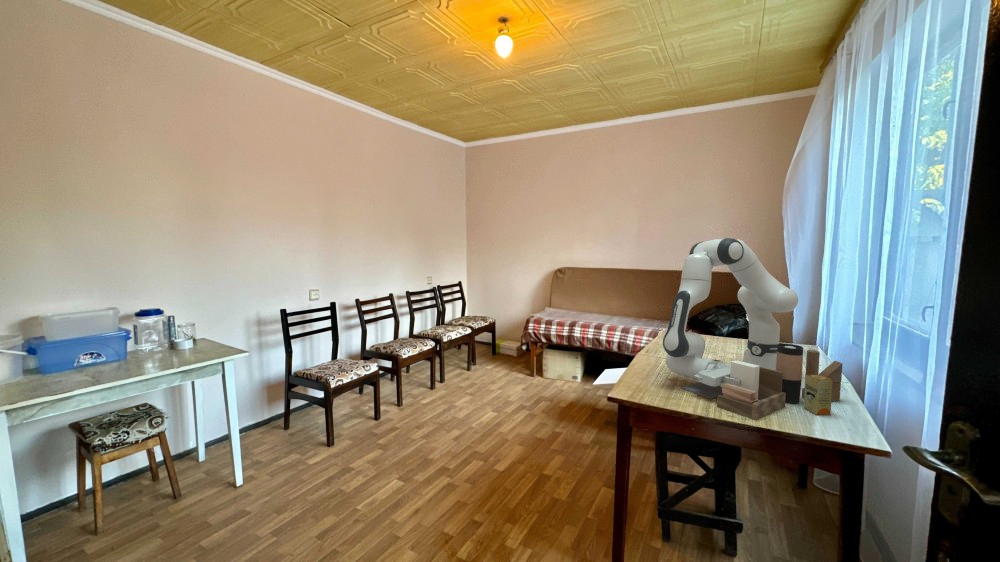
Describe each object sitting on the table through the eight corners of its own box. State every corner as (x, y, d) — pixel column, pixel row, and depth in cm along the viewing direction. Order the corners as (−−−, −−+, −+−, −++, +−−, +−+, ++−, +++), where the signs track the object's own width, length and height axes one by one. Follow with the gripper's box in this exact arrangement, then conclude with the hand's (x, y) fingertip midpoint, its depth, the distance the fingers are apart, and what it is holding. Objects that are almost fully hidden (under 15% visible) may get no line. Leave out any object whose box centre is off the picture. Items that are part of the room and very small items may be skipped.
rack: (747, 395, 146) (748, 364, 145) (784, 406, 135) (786, 373, 134) (717, 406, 136) (718, 373, 134) (755, 420, 125) (757, 383, 124)
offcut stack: (727, 404, 138) (728, 383, 137) (757, 414, 129) (758, 392, 129) (720, 406, 136) (721, 385, 135) (751, 417, 127) (752, 394, 127)
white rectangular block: (734, 397, 144) (735, 360, 143) (757, 404, 137) (759, 365, 136) (728, 399, 142) (730, 361, 141) (752, 406, 135) (754, 367, 134)
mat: (702, 382, 160) (702, 380, 160) (732, 391, 150) (732, 390, 149) (681, 388, 153) (681, 387, 153) (711, 398, 142) (711, 397, 142)
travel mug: (769, 396, 145) (772, 343, 143) (790, 396, 145) (793, 343, 143) (783, 404, 137) (786, 348, 135) (805, 404, 137) (809, 348, 135)
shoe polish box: (815, 415, 128) (818, 379, 127) (803, 409, 133) (805, 374, 132) (830, 415, 128) (832, 379, 127) (817, 408, 133) (819, 374, 132)
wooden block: (840, 402, 139) (843, 352, 138) (808, 401, 140) (811, 352, 138) (832, 398, 143) (835, 350, 141) (801, 397, 144) (804, 349, 142)
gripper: (690, 367, 145) (727, 377, 133) (721, 359, 156) (758, 368, 144) (689, 383, 146) (727, 395, 134) (720, 374, 156) (757, 384, 144)
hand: (743, 381), depth 139 cm, fingers closed on white rectangular block, 3 cm apart
